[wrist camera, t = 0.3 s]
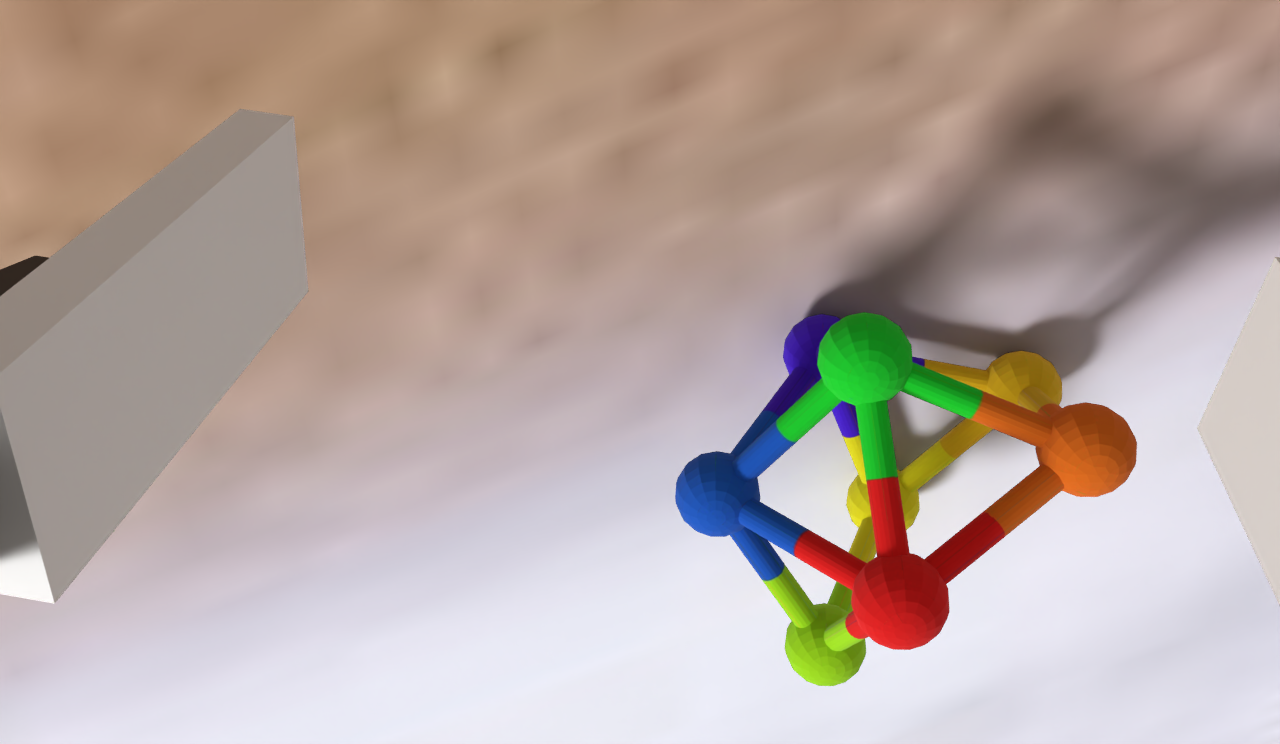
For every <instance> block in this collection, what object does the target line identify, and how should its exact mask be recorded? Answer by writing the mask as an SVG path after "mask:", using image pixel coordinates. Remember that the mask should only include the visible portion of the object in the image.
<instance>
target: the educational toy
mask: <svg viewBox="0 0 1280 744" xmlns="http://www.w3.org/2000/svg"><path fill="white" fill-rule="evenodd" d="M783 358H784V362H785V364H786V367H787V370H788V372H789V374H790V375H789V376H788V378H787V379H786V380H785V382H784V383H783V384H782V386H781V387H780V388H779V390H778V391H777V392H776V394H775V395H774V396H773V398H772V399H771V400H770V402H769V403H768V404H767V406H766V407H765V408H764V410H763V411H762V412H761V414H760V415H759V416H758V417H757V419H756V420H755V421H754V423H753V424H752V425H751V427H750V428H749V429H748V431H747V432H746V433H745V435H744V436H743V437H742V439H741V440H740V441H739V443H738V444H737V445H736V447H735V448H734V449H733V451H732V452H731V453H730V454H729V453H724V452H718V451H716V452H711V453H705V454H701V455H699V456H698V457H696V458H695V459H693V460H692V461H690V462H689V463H688V464H687V465H686V466H685V468H684V469H683V471H682V472H681V474H680V476H679V477H678V480H677V483H676V496H675V499H676V504H677V507H678V509H679V511H680V513H681V516H682V518H683V519H684V521H685V522H686V523H688V524H689V525H690V526H691V527H692V528H693V529H694V530H696V531H697V532H700V533H703V534H705V535H708V536H723V537H725V536H727V535H730V536H731V537H732V539H733V540H734V541H735V543H736V544H737V546H738V547H739V548H740V550H741V551H742V553H743V554H744V555H745V557H746V558H747V559H748V561H749V562H750V564H751V565H752V566H753V568H754V569H755V571H756V572H757V573H758V575H759V576H760V577H761V579H762V580H763V582H764V583H765V584H766V586H767V587H768V589H769V590H770V591H771V593H772V594H773V595H774V597H775V598H776V600H777V601H778V602H779V604H780V605H781V607H782V608H783V609H784V611H785V612H786V614H787V615H788V616H789V618H790V619H791V620H792V622H791V623H790V625H789V626H788V628H787V634H786V642H785V651H786V654H787V657H788V659H789V661H790V664H791V666H792V668H793V669H794V671H796V672H797V673H798V674H799V675H800V676H801V677H803V678H804V679H805V680H806V681H808V682H811V683H813V684H816V685H819V686H834V685H837V684H841V683H844V682H846V681H847V680H848V679H850V678H851V677H852V676H853V675H855V674H856V673H857V672H858V670H859V668H860V666H861V664H862V662H863V660H864V657H865V655H866V645H865V638H867V637H870V638H871V639H872V640H874V641H875V642H876V643H878V644H880V645H883V646H886V647H888V648H891V649H904V650H910V649H913V648H916V647H920V646H923V645H925V644H927V643H928V642H929V641H930V640H932V639H933V638H934V637H936V636H937V635H938V634H939V633H940V631H941V629H942V627H943V625H944V624H945V622H946V620H947V617H948V614H949V597H948V588H947V585H946V584H947V583H948V582H950V581H951V580H952V579H953V578H955V577H956V576H957V575H958V574H959V573H961V572H962V571H963V570H964V569H966V568H967V567H968V566H969V565H971V564H972V563H973V562H974V561H975V560H977V559H978V558H979V557H980V556H982V555H983V554H984V553H985V552H987V551H988V550H989V549H990V548H991V547H993V546H994V545H995V544H996V543H998V542H999V541H1000V540H1001V539H1003V538H1004V537H1005V536H1006V535H1007V534H1009V533H1010V532H1011V531H1012V530H1014V529H1015V528H1016V527H1017V526H1019V525H1020V524H1021V523H1022V522H1023V521H1025V520H1026V519H1027V518H1028V517H1030V516H1031V515H1032V514H1033V513H1035V512H1036V511H1037V510H1038V509H1039V508H1041V507H1042V506H1043V505H1044V504H1046V503H1047V502H1048V501H1049V500H1051V499H1052V498H1053V497H1054V496H1055V495H1057V494H1058V493H1059V492H1060V491H1064V492H1067V493H1070V494H1072V495H1075V496H1080V497H1097V496H1100V495H1103V494H1106V493H1109V492H1112V491H1114V490H1115V489H1116V488H1118V487H1119V486H1120V485H1121V484H1123V483H1124V482H1125V481H1126V480H1127V479H1128V477H1129V475H1130V473H1131V472H1132V470H1133V468H1134V466H1135V464H1136V449H1137V442H1136V439H1135V436H1134V435H1133V433H1132V431H1131V429H1130V427H1129V425H1128V423H1127V422H1126V421H1125V420H1124V418H1123V417H1121V416H1120V415H1118V414H1117V413H1115V412H1114V411H1112V410H1111V409H1109V408H1107V407H1105V406H1103V405H1097V404H1091V403H1080V404H1075V405H1069V406H1066V407H1064V408H1061V407H1060V406H1059V404H1060V402H1061V399H1062V382H1061V378H1060V376H1059V375H1058V373H1057V371H1056V369H1055V367H1054V366H1053V365H1052V363H1050V362H1049V361H1047V360H1046V359H1044V358H1043V357H1041V356H1040V355H1038V354H1036V353H1031V352H1025V351H1016V352H1011V353H1006V354H1004V355H1002V356H1001V357H999V358H997V359H996V360H994V361H993V362H992V363H991V364H990V366H989V367H988V368H987V370H981V369H976V368H970V367H965V366H959V365H954V364H949V363H943V362H938V361H932V360H927V359H922V358H916V357H912V349H911V344H910V342H909V341H908V339H907V337H906V336H905V334H904V333H903V331H902V329H901V328H900V326H898V325H897V324H895V323H894V322H892V321H890V320H889V319H887V318H886V317H884V316H882V315H878V314H872V313H866V312H863V313H858V314H853V315H848V316H846V317H844V318H843V319H839V318H838V317H836V316H830V315H824V314H820V315H815V316H810V317H807V318H805V319H804V320H802V321H801V322H799V323H798V324H796V325H795V326H794V327H793V328H792V330H791V331H790V333H789V335H788V336H787V338H786V339H785V345H784V354H783ZM899 391H902V392H904V393H907V394H909V395H912V396H914V397H917V398H919V399H921V400H924V401H926V402H929V403H931V404H934V405H936V406H939V407H941V408H943V409H946V410H948V411H951V412H953V413H956V414H958V415H961V416H963V417H965V419H964V420H963V421H962V422H960V423H959V424H958V425H957V426H956V427H954V428H953V429H952V430H951V431H949V432H948V433H947V434H946V435H945V436H943V437H942V438H941V439H940V440H938V441H937V442H936V443H935V444H934V445H932V446H931V447H930V448H929V449H928V450H926V451H925V452H924V453H923V454H921V455H920V456H919V457H918V458H917V459H915V460H914V461H913V462H912V463H910V464H909V465H908V466H907V467H906V468H904V469H903V470H902V471H899V470H898V469H897V466H896V459H895V452H894V445H893V439H892V432H891V425H890V418H889V412H888V405H887V401H888V400H891V399H892V398H893V397H894V396H895V395H896V394H897V393H898V392H899ZM831 410H832V412H833V414H834V416H835V419H836V421H837V424H838V426H839V428H840V431H841V433H842V436H843V438H844V441H845V443H846V445H847V448H848V450H849V453H850V455H851V457H852V460H853V462H854V465H855V467H856V469H857V472H858V474H859V475H857V477H856V478H855V480H854V481H853V482H852V484H851V485H850V487H849V489H848V496H847V504H846V505H847V508H848V511H849V514H850V517H851V519H852V521H853V522H854V524H855V525H856V526H857V527H859V529H858V531H857V534H856V536H855V539H854V541H853V543H852V546H851V548H850V551H849V553H848V552H847V551H845V550H843V549H841V548H840V547H838V546H836V545H834V544H833V543H831V542H829V541H827V540H826V539H824V538H822V537H820V536H819V535H817V534H815V533H813V532H812V531H810V530H808V529H806V528H805V527H803V526H801V525H799V524H798V523H796V522H794V521H792V520H791V519H789V518H787V517H785V516H784V515H782V514H780V513H778V512H777V511H775V510H773V509H771V508H770V507H768V506H766V505H764V504H763V503H761V502H760V492H759V485H758V479H757V477H758V476H759V475H760V474H761V473H763V472H764V471H765V470H766V469H767V468H768V467H769V466H770V465H771V464H773V463H774V462H775V461H776V460H777V459H778V458H779V457H780V456H781V455H783V454H784V453H785V452H786V451H787V450H788V449H789V448H790V447H791V446H793V445H794V444H795V443H796V442H797V441H798V440H799V439H800V438H801V437H803V436H804V435H805V434H806V433H807V432H808V431H809V430H810V429H811V428H813V427H814V426H815V425H816V424H817V423H818V422H819V421H820V420H821V419H823V418H824V417H825V416H826V415H827V414H828V413H829V412H830V411H831ZM993 429H995V430H997V431H1000V432H1002V433H1005V434H1007V435H1009V436H1012V437H1014V438H1017V439H1019V440H1022V441H1024V442H1027V443H1029V444H1031V445H1034V446H1036V454H1037V457H1038V461H1039V465H1040V466H1039V467H1038V468H1037V469H1036V470H1034V471H1033V472H1032V473H1031V474H1029V475H1028V476H1027V477H1026V478H1025V479H1023V480H1022V481H1021V482H1020V483H1018V484H1017V485H1016V486H1015V487H1013V488H1012V489H1011V490H1010V491H1008V492H1007V493H1006V494H1005V495H1004V496H1002V497H1001V498H1000V499H999V500H997V501H996V502H995V503H994V504H992V505H991V506H990V507H989V508H987V509H986V510H985V511H984V512H982V513H981V514H980V515H979V516H978V517H976V518H975V519H974V520H973V521H971V522H970V523H969V524H968V525H966V526H965V527H964V528H963V529H961V530H960V531H959V532H958V533H956V534H955V535H954V536H953V537H952V538H950V539H949V540H948V541H947V542H945V543H944V544H943V545H942V546H940V547H939V548H938V549H937V550H935V551H934V552H933V553H932V554H930V555H929V556H928V557H927V558H926V559H923V558H921V557H919V556H918V555H915V554H910V553H909V547H908V540H907V533H906V530H907V529H908V528H909V527H910V526H911V525H913V523H914V520H915V518H916V516H917V514H918V512H919V493H918V489H919V488H920V487H922V486H923V485H924V484H925V483H927V482H928V481H929V480H930V479H932V478H933V477H934V476H935V475H937V474H938V473H939V472H940V471H941V470H943V469H944V468H945V467H946V466H948V465H949V464H950V463H951V462H953V461H954V460H955V459H956V458H958V457H959V456H960V455H961V454H963V453H964V452H965V451H966V450H968V449H969V448H970V447H971V446H973V445H974V444H975V443H976V442H978V441H979V440H980V439H981V438H983V437H984V436H985V435H986V434H988V433H989V432H990V431H991V430H993ZM768 541H770V542H772V543H773V544H775V545H777V546H778V547H780V548H782V549H783V550H785V551H787V552H788V553H790V554H792V555H793V556H795V557H797V558H798V559H800V560H802V561H804V562H805V563H807V564H809V565H810V566H812V567H814V568H815V569H817V570H819V571H820V572H822V573H824V574H825V575H827V576H829V577H830V578H832V579H834V580H835V581H837V582H836V584H835V587H834V589H833V592H832V594H831V596H830V599H829V601H828V604H825V603H824V604H817V605H813V604H812V602H811V601H810V599H809V598H808V597H807V595H806V594H805V592H804V591H803V590H802V588H801V587H800V585H799V584H798V583H797V581H796V580H795V578H794V577H793V575H792V574H791V573H790V571H789V570H788V568H787V567H786V566H785V564H784V563H783V561H782V560H781V559H780V557H779V556H778V554H777V553H776V551H775V550H774V549H773V547H772V546H771V544H770V543H769V542H768ZM876 552H877V557H876V558H874V557H875V554H876Z"/></svg>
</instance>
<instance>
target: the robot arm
mask: <svg viewBox="0 0 1280 744" xmlns="http://www.w3.org/2000/svg"><path fill="white" fill-rule="evenodd" d="M307 292H308V280H307V268H306V256H305V244H304V233H303V221H302V209H301V197H300V185H299V173H298V161H297V149H296V137H295V125H294V117H293V116H286V115H279V114H272V113H265V112H259V111H252V110H245V109H239V110H238V111H237V112H235V113H234V114H233V115H232V116H230V117H229V118H228V119H227V120H225V121H224V122H223V123H221V124H220V125H219V126H218V127H216V128H215V129H214V130H212V131H211V132H210V133H209V134H207V135H206V136H205V137H203V138H202V139H201V140H200V141H198V142H197V143H196V144H195V145H193V146H192V147H191V148H189V149H188V150H187V151H186V152H184V153H183V154H182V155H180V156H179V157H178V158H177V159H175V160H174V161H173V162H172V163H170V164H169V165H168V166H166V167H165V168H164V169H163V170H161V171H160V172H159V173H157V174H156V175H155V176H154V177H152V178H151V179H150V180H148V181H147V182H146V183H145V184H143V185H142V186H141V187H140V188H138V189H137V190H136V191H134V192H133V193H132V194H131V195H129V196H128V197H127V198H125V199H124V200H123V201H122V202H120V203H119V204H118V205H116V206H115V207H114V208H113V209H111V210H110V211H109V212H108V213H106V214H105V215H104V216H102V217H101V218H100V219H99V220H97V221H96V222H95V223H93V224H92V225H91V226H90V227H88V228H87V229H86V230H85V231H83V232H82V233H81V234H79V235H78V236H77V237H76V238H74V239H73V240H72V241H70V242H69V243H68V244H67V245H65V246H64V247H63V248H61V249H60V250H59V251H58V252H56V253H55V254H54V255H53V256H51V257H50V258H47V257H41V256H33V257H31V258H28V259H26V260H23V261H21V262H18V263H16V264H13V265H11V266H8V267H6V268H3V269H1V270H0V594H3V595H9V596H15V597H20V598H26V599H32V600H37V601H43V602H48V603H54V604H55V602H56V601H57V600H58V599H59V598H60V596H61V595H62V594H63V593H64V591H65V590H66V589H67V588H68V586H69V585H70V584H71V583H72V582H73V580H74V579H75V578H76V577H77V575H78V574H79V573H80V572H81V570H82V569H83V568H84V567H85V566H86V564H87V563H88V562H89V561H90V559H91V558H92V557H93V556H94V554H95V553H96V552H97V551H98V550H99V548H100V547H101V546H102V545H103V543H104V542H105V541H106V540H107V538H108V537H109V536H110V535H111V534H112V532H113V531H114V530H115V529H116V527H117V526H118V525H119V524H120V522H121V521H122V520H123V519H124V518H125V516H126V515H127V514H128V513H129V511H130V510H131V509H132V508H133V506H134V505H135V504H136V503H137V502H138V500H139V499H140V498H141V497H142V495H143V494H144V493H145V492H146V490H147V489H148V488H149V487H150V486H151V484H152V483H153V482H154V481H155V479H156V478H157V477H158V476H159V474H160V473H161V472H162V471H163V470H164V468H165V467H166V466H167V465H168V463H169V462H170V461H171V460H172V458H173V457H174V456H175V455H176V454H177V452H178V451H179V450H180V449H181V447H182V446H183V445H184V444H185V442H186V441H187V440H188V439H189V438H190V436H191V435H192V434H193V433H194V431H195V430H196V429H197V428H198V426H199V425H200V424H201V423H202V422H203V420H204V419H205V418H206V417H207V415H208V414H209V413H210V412H211V410H212V409H213V408H214V407H215V406H216V404H217V403H218V402H219V401H220V399H221V398H222V397H223V396H224V394H225V393H226V392H227V391H228V390H229V388H230V387H231V386H232V385H233V383H234V382H235V381H236V380H237V378H238V377H239V376H240V375H241V374H242V372H243V371H244V370H245V369H246V367H247V366H248V365H249V364H250V362H251V361H252V360H253V359H254V358H255V356H256V355H257V354H258V353H259V351H260V350H261V349H262V348H263V346H264V345H265V344H266V343H267V342H268V340H269V339H270V338H271V337H272V335H273V334H274V333H275V332H276V330H277V329H278V328H279V327H280V326H281V324H282V323H283V322H284V321H285V319H286V318H287V317H288V316H289V314H290V313H291V312H292V311H293V310H294V308H295V307H296V306H297V305H298V303H299V302H300V301H301V300H302V298H303V297H304V296H305V295H306V294H307ZM1197 429H1198V431H1199V433H1200V435H1201V438H1202V440H1203V442H1204V444H1205V446H1206V448H1207V450H1208V453H1209V455H1210V457H1211V459H1212V461H1213V463H1214V466H1215V468H1216V470H1217V472H1218V474H1219V476H1220V478H1221V481H1222V483H1223V485H1224V487H1225V489H1226V491H1227V494H1228V496H1229V498H1230V500H1231V502H1232V504H1233V506H1234V509H1235V511H1236V513H1237V515H1238V517H1239V519H1240V521H1241V524H1242V526H1243V528H1244V530H1245V532H1246V534H1247V537H1248V539H1249V541H1250V543H1251V545H1252V547H1253V549H1254V552H1255V554H1256V556H1257V558H1258V560H1259V562H1260V565H1261V567H1262V569H1263V571H1264V573H1265V575H1266V577H1267V580H1268V582H1269V584H1270V586H1271V588H1272V590H1273V593H1274V595H1275V597H1276V599H1277V601H1278V603H1279V605H1280V258H1279V257H1275V258H1274V260H1273V263H1272V265H1271V267H1270V269H1269V271H1268V274H1267V276H1266V278H1265V280H1264V282H1263V285H1262V287H1261V289H1260V291H1259V293H1258V296H1257V298H1256V300H1255V302H1254V304H1253V307H1252V309H1251V311H1250V313H1249V315H1248V318H1247V320H1246V322H1245V324H1244V326H1243V329H1242V331H1241V333H1240V335H1239V337H1238V340H1237V342H1236V344H1235V346H1234V348H1233V351H1232V353H1231V355H1230V357H1229V359H1228V362H1227V364H1226V366H1225V368H1224V370H1223V373H1222V375H1221V377H1220V379H1219V381H1218V384H1217V386H1216V388H1215V390H1214V392H1213V395H1212V397H1211V399H1210V401H1209V403H1208V406H1207V408H1206V410H1205V412H1204V414H1203V417H1202V419H1201V421H1200V423H1199V425H1198V428H1197Z"/></svg>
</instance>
